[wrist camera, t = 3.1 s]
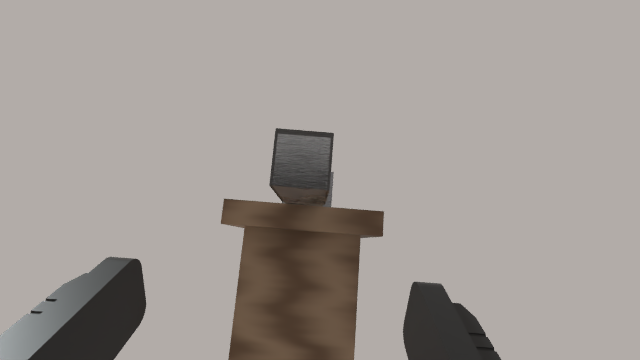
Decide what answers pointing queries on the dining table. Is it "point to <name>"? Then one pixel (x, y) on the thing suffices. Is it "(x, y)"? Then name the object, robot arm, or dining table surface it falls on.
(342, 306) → the wooden block tower
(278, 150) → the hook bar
